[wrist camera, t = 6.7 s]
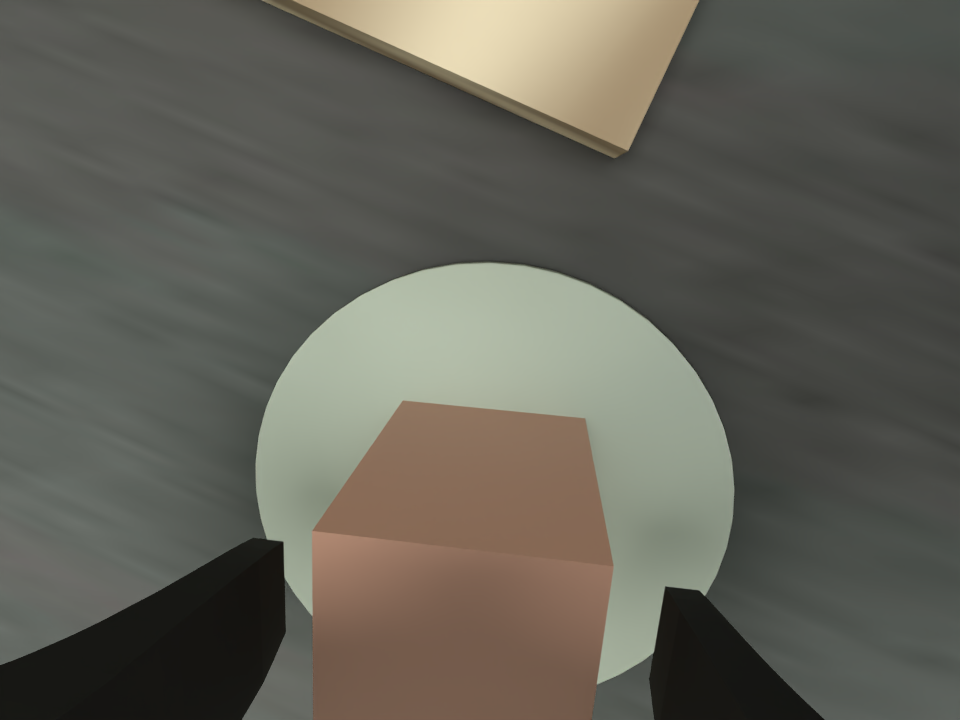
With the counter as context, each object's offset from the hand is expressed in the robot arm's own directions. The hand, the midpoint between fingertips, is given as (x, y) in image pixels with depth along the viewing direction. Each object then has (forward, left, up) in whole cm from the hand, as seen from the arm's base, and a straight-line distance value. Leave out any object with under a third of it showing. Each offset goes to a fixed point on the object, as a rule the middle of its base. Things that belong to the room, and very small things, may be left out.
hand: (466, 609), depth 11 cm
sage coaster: (0, 0, -5) cm, 5 cm away
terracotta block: (0, 0, -4) cm, 4 cm away
